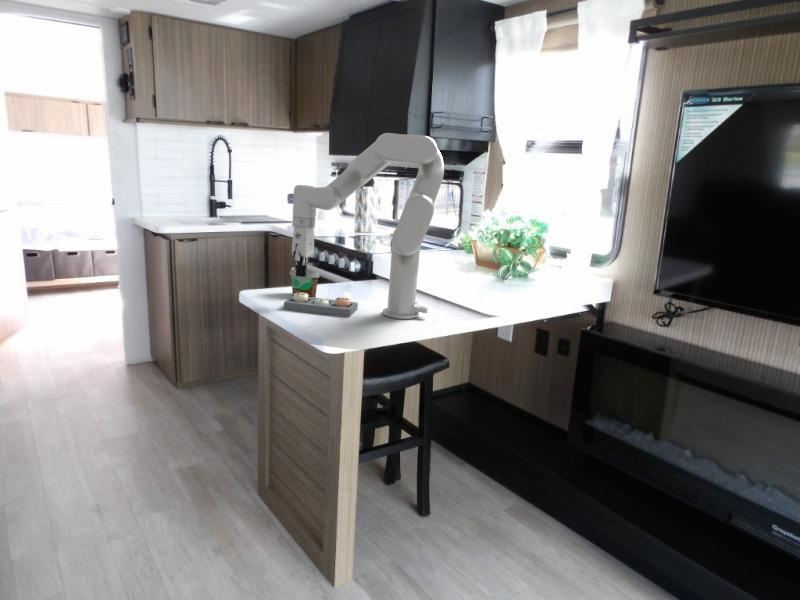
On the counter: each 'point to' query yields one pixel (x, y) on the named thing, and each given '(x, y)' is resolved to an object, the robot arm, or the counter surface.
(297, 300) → the button two dot
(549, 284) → the counter surface
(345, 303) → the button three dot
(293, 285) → the food container
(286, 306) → the gray rectangular tray
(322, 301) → the button one dot
